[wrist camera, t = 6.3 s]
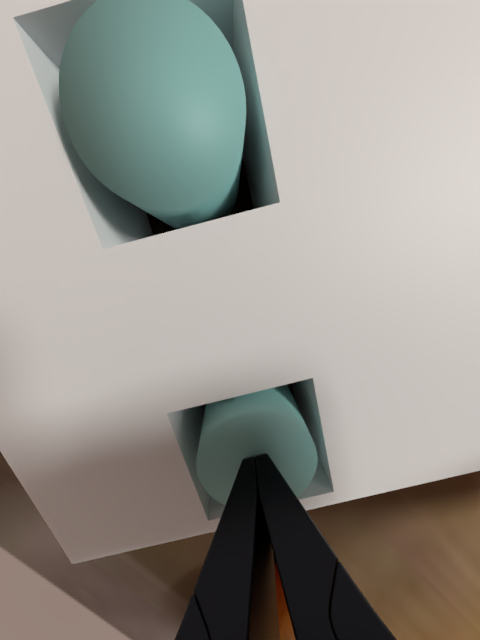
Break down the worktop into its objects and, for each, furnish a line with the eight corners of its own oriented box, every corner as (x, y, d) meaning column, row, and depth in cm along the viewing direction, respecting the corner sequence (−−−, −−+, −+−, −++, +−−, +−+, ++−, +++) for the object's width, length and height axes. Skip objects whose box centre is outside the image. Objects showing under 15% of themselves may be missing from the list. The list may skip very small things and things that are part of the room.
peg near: (225, 117, 9) (219, -40, 4) (248, 220, 10) (263, 184, 5) (131, 143, 9) (23, 17, 5) (162, 243, 10) (103, 226, 6)
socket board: (362, 55, 9) (506, -171, 4) (392, 393, 13) (484, 469, 8) (-10, 158, 10) (-254, 54, 5) (128, 456, 14) (72, 564, 9)
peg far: (275, 342, 12) (306, 398, 7) (289, 407, 13) (326, 496, 8) (200, 360, 12) (180, 429, 7) (220, 423, 13) (215, 521, 8)
